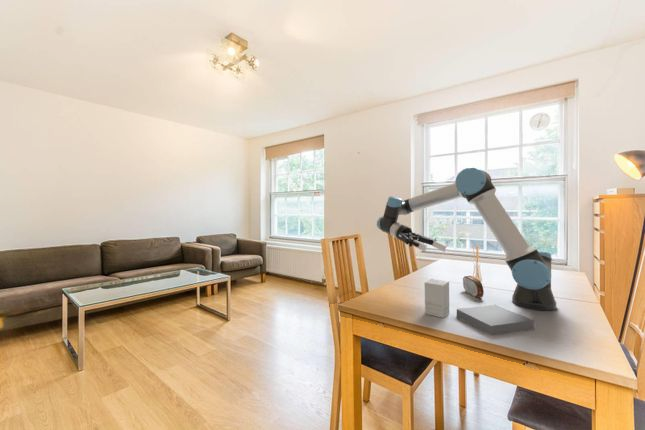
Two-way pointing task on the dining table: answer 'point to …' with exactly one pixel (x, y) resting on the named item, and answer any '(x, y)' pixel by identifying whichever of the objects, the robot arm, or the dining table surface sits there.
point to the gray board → (495, 319)
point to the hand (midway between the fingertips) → (435, 248)
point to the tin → (473, 286)
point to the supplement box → (437, 298)
